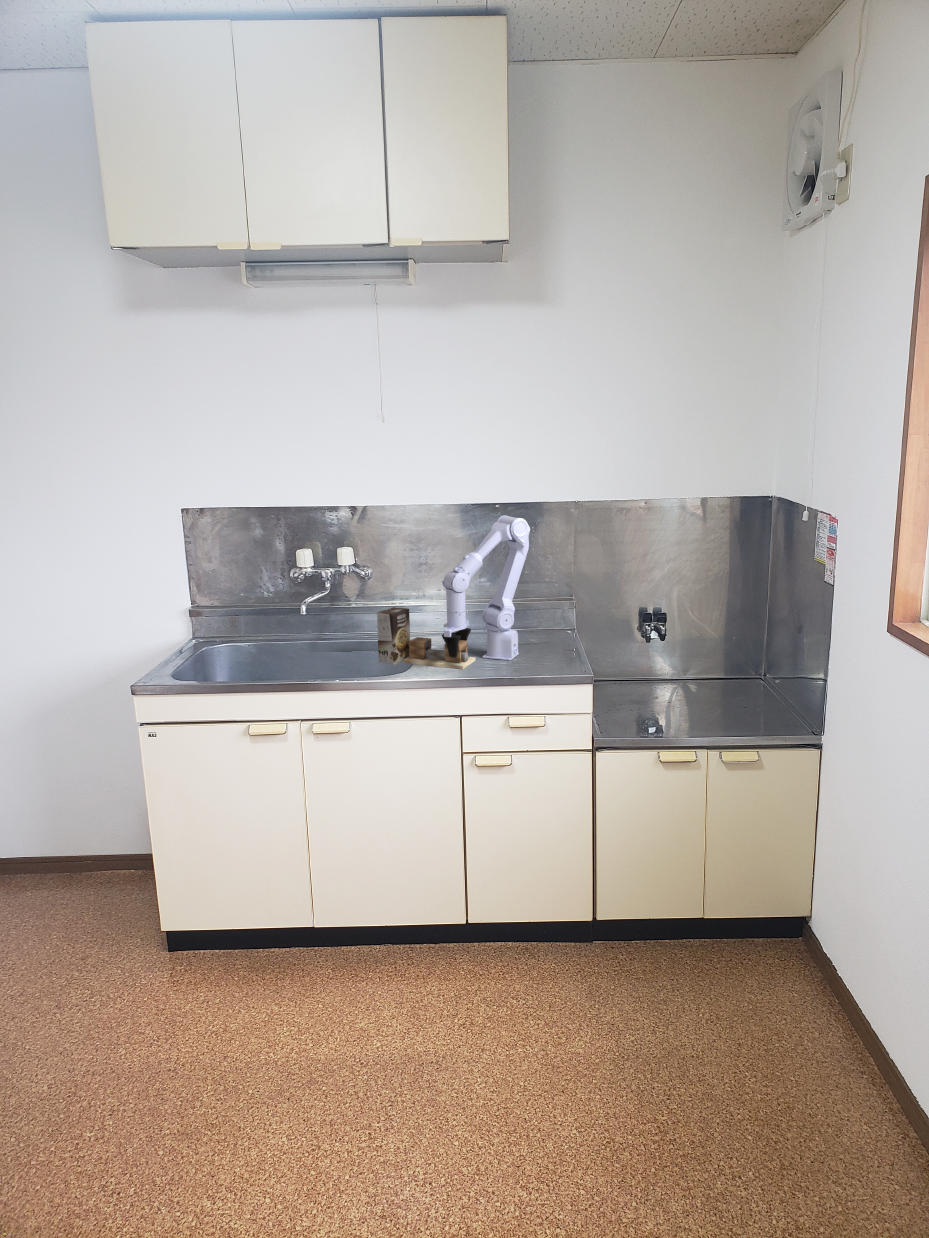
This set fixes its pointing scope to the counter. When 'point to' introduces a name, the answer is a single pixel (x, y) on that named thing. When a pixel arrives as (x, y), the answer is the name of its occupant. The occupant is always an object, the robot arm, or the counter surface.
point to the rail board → (439, 663)
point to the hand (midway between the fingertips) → (457, 654)
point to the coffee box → (393, 635)
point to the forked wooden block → (461, 648)
